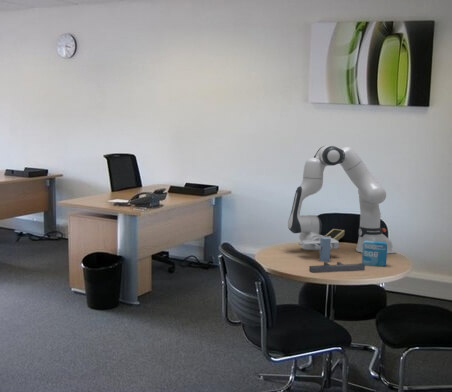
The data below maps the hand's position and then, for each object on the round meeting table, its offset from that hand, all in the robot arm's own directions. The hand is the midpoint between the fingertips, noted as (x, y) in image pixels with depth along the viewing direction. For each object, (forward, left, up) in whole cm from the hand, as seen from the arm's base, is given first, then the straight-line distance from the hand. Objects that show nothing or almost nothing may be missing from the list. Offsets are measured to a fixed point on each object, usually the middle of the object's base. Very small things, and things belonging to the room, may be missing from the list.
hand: (325, 247), depth 279 cm
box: (-24, -44, -7) cm, 50 cm away
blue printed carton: (-22, +11, -7) cm, 26 cm away
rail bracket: (+2, +17, -7) cm, 19 cm away
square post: (0, -1, -7) cm, 7 cm away
